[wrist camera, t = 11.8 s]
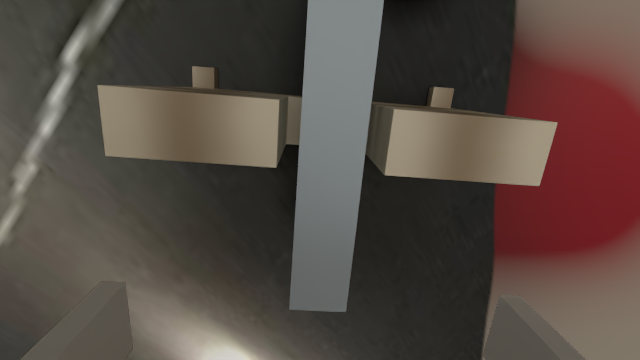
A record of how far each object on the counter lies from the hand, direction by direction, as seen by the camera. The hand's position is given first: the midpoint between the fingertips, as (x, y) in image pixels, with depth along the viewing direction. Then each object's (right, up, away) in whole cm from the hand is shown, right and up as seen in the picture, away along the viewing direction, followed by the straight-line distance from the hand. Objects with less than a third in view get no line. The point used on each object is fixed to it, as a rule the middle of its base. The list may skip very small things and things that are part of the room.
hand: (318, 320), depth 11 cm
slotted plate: (0, +10, +14) cm, 18 cm away
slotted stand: (0, +10, +14) cm, 18 cm away
